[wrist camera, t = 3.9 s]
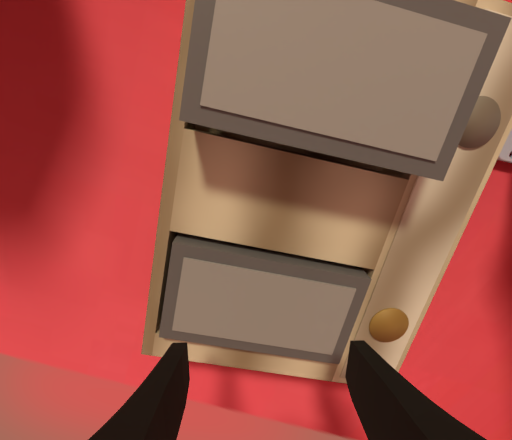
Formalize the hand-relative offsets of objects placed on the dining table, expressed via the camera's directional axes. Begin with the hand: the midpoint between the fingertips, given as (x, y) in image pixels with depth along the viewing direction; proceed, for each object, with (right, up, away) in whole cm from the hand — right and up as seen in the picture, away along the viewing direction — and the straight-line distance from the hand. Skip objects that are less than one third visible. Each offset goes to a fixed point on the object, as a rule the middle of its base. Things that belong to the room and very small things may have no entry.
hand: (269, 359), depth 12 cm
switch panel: (+3, +8, +6) cm, 10 cm away
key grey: (+2, +13, +1) cm, 13 cm away
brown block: (0, +2, +7) cm, 7 cm away
